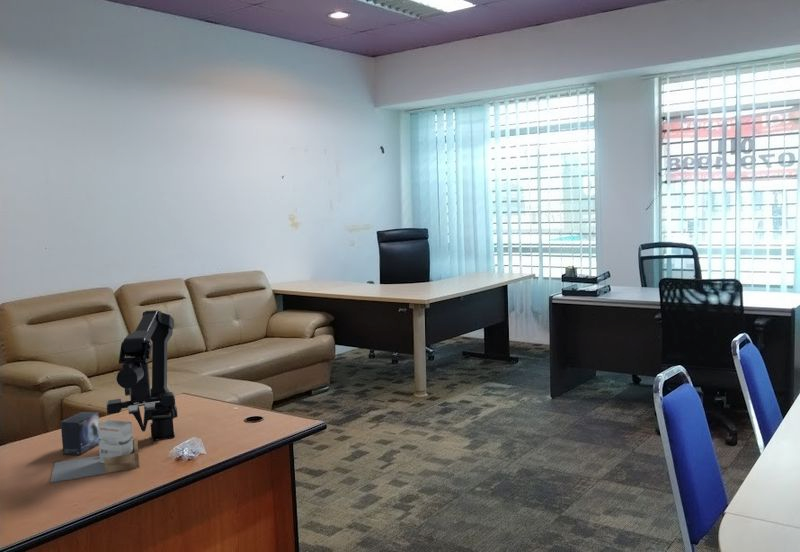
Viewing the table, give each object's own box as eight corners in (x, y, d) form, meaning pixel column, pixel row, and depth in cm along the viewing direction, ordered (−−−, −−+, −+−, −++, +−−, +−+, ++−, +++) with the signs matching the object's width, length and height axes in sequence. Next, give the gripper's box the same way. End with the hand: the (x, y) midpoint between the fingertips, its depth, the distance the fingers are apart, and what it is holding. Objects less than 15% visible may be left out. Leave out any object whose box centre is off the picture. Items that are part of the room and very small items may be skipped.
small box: (81, 455, 216) (77, 422, 214) (62, 455, 217) (58, 421, 216) (102, 443, 226) (99, 411, 225) (84, 443, 227) (81, 411, 226)
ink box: (134, 460, 209) (133, 421, 208) (123, 466, 205) (121, 426, 203) (110, 457, 212) (109, 418, 211) (99, 463, 207) (97, 423, 206)
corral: (138, 450, 217) (137, 438, 217) (139, 467, 203) (138, 453, 203) (106, 456, 214) (105, 443, 214) (105, 473, 200) (104, 459, 200)
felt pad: (106, 455, 215) (106, 454, 215) (105, 473, 200) (105, 472, 200) (55, 463, 210) (55, 462, 210) (50, 483, 195) (50, 482, 195)
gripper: (170, 369, 219) (174, 418, 221) (105, 377, 213) (110, 428, 214) (173, 377, 209) (177, 429, 211) (104, 386, 202) (109, 439, 204)
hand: (143, 431), depth 210 cm, fingers closed
